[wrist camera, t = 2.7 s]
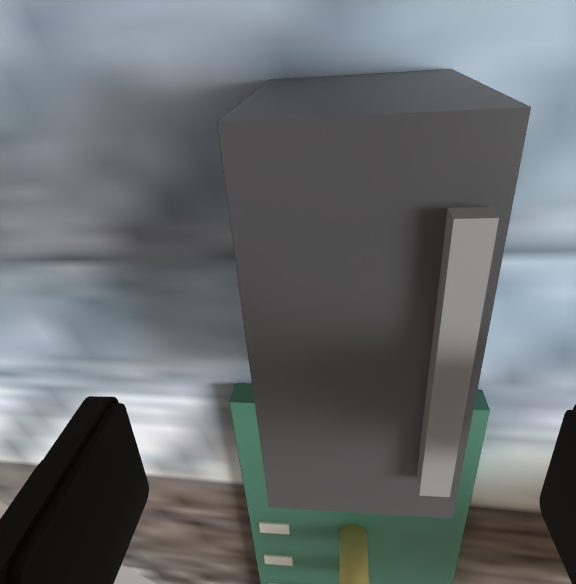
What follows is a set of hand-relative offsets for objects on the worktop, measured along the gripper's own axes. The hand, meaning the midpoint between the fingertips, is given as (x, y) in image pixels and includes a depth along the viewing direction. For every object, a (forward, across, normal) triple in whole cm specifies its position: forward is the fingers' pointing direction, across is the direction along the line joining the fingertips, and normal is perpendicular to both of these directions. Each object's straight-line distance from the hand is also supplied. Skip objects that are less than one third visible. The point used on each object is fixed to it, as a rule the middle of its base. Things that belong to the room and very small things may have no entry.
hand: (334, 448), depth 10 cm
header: (+9, -1, +15) cm, 18 cm away
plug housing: (+9, -1, -1) cm, 9 cm away
